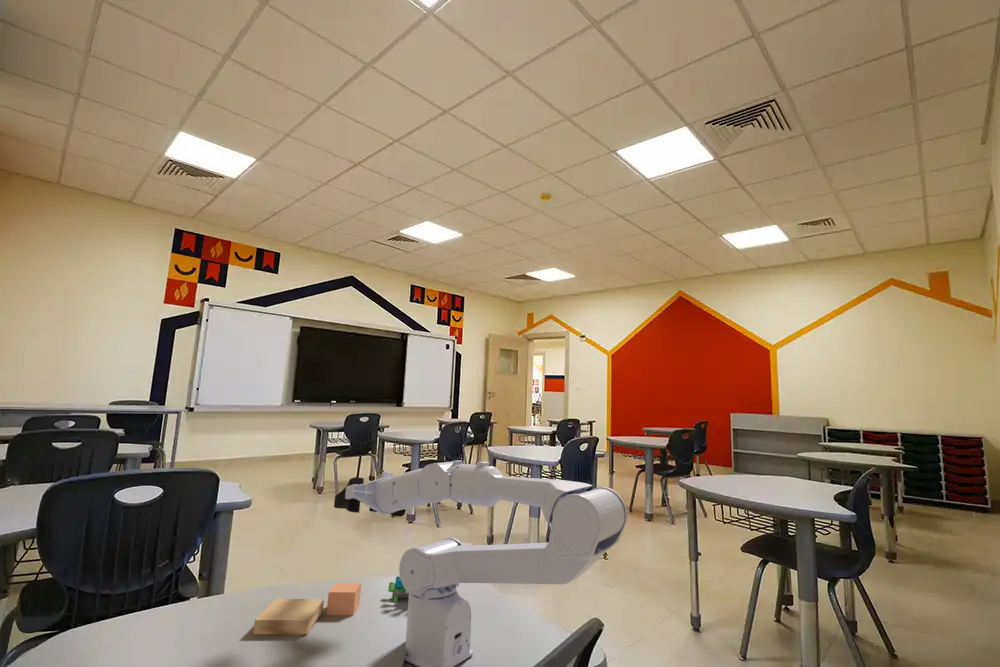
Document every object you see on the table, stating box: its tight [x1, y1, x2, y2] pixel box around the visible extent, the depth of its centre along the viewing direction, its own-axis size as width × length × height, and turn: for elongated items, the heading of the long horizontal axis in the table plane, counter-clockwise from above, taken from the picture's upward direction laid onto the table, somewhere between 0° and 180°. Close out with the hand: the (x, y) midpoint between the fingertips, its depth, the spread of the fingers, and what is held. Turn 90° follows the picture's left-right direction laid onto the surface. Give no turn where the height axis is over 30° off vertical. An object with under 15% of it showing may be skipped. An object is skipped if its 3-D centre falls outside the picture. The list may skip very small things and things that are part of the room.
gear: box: [387, 575, 409, 603], centre depth 85 cm, size 11×6×10 cm
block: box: [326, 582, 362, 616], centre depth 80 cm, size 4×4×5 cm
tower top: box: [252, 598, 325, 635], centre depth 74 cm, size 8×8×2 cm
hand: (354, 503), depth 84 cm, fingers open, 7 cm apart
